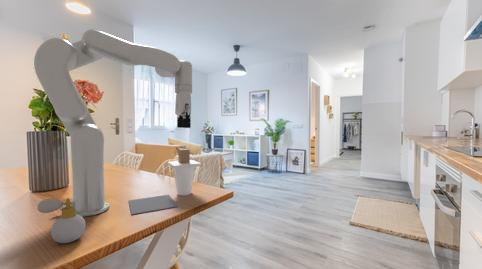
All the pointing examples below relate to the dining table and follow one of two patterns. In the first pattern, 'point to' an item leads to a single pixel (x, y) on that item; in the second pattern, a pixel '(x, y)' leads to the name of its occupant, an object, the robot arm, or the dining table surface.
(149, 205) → the mat
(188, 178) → the foam cup
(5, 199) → the dining table surface
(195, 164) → the lid
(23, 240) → the dining table surface
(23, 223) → the dining table surface
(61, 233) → the perfume bottle
